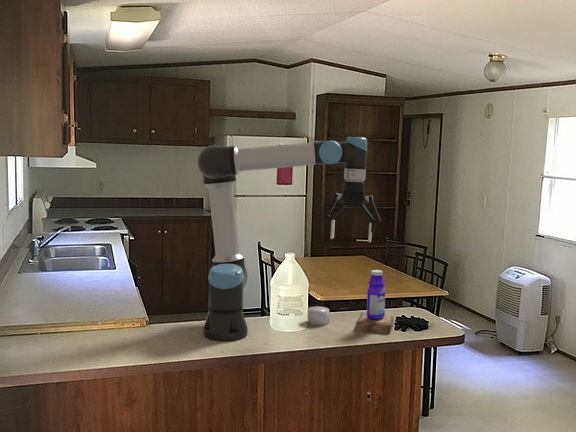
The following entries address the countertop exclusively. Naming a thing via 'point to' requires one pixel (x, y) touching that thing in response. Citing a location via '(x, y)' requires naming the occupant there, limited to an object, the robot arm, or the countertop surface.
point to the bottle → (376, 296)
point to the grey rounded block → (318, 315)
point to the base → (375, 324)
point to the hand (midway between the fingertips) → (350, 240)
